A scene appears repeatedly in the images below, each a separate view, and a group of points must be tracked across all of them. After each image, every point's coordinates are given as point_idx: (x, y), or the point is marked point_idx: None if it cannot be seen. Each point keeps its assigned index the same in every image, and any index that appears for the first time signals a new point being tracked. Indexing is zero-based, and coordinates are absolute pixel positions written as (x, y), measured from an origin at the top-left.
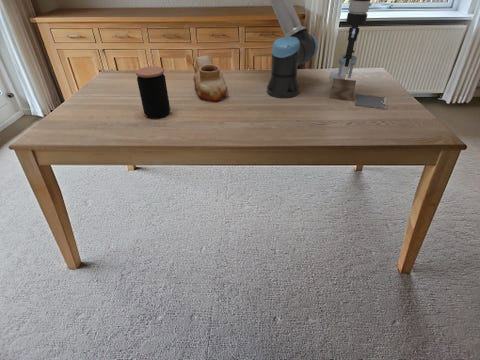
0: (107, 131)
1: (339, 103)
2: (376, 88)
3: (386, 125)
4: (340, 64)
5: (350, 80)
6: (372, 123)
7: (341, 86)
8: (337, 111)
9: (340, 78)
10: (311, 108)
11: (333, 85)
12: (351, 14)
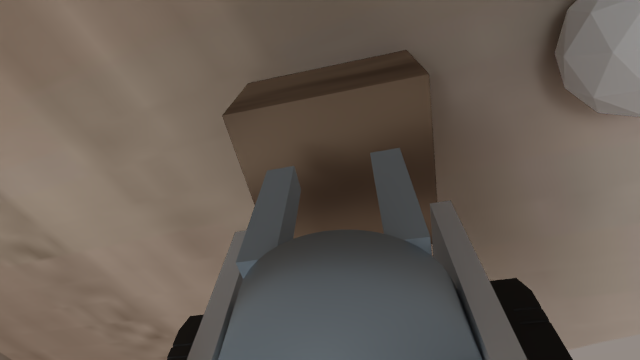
0: None
1: (214, 161)
2: (548, 273)
3: (135, 347)
4: (240, 264)
5: (425, 210)
6: (112, 314)
7: (251, 188)
8: (105, 180)
9: (572, 87)
10: (11, 30)
11: (235, 129)
12: None
